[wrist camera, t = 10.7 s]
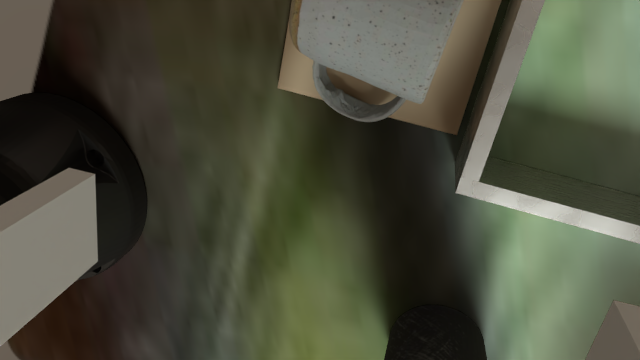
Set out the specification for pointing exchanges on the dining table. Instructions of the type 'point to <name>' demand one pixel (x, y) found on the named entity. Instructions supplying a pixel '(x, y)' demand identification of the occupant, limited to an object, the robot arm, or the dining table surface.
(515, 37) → the equipment case
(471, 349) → the travel mug
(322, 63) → the ceramic mug
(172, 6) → the dining table surface
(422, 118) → the cork pad
